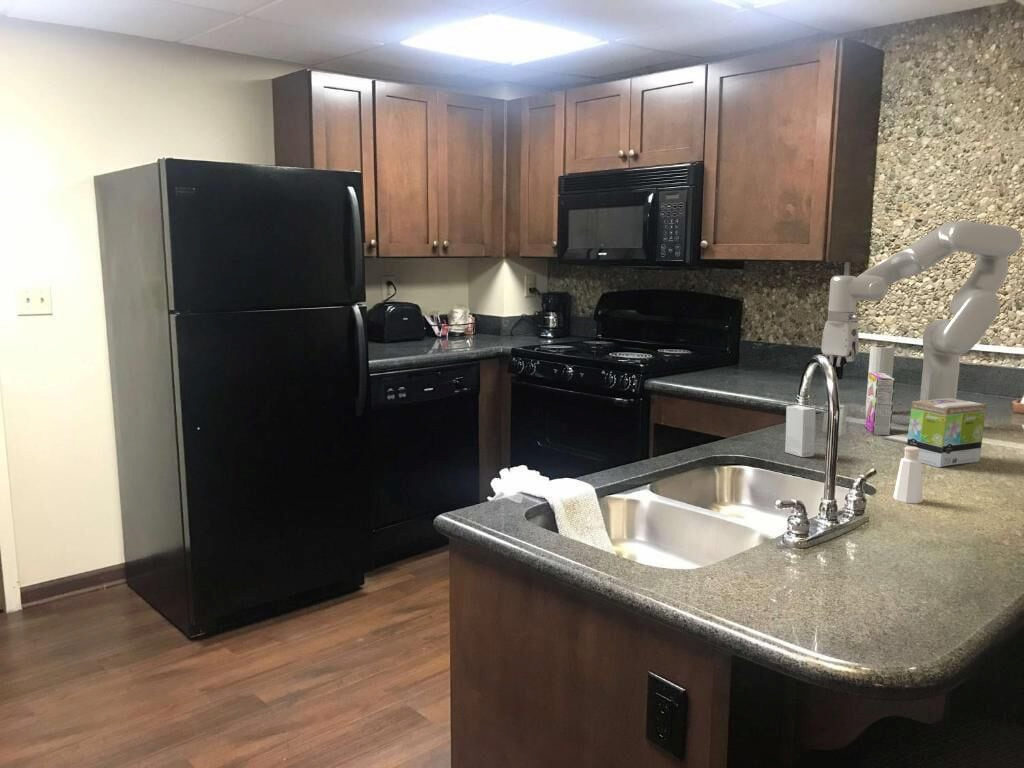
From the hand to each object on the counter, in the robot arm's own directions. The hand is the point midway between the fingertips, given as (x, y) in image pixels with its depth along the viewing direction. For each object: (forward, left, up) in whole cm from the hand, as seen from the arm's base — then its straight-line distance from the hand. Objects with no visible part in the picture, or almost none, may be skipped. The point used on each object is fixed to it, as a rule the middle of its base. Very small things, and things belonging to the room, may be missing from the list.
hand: (836, 378), depth 245 cm
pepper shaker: (+53, +62, -14) cm, 83 cm away
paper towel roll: (-27, -5, -13) cm, 31 cm away
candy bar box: (0, +15, -14) cm, 20 cm away
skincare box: (+42, +24, -14) cm, 50 cm away
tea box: (+15, +45, -14) cm, 49 cm away
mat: (0, +30, -13) cm, 32 cm away
